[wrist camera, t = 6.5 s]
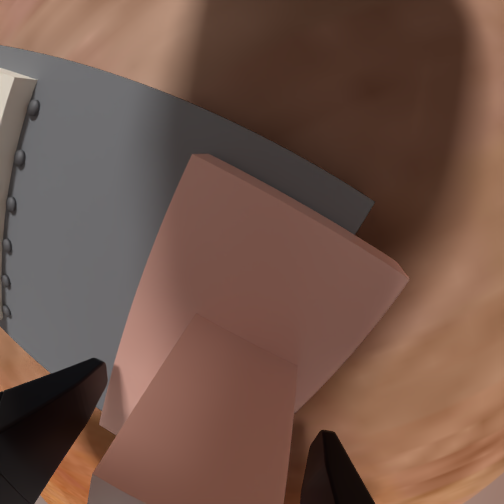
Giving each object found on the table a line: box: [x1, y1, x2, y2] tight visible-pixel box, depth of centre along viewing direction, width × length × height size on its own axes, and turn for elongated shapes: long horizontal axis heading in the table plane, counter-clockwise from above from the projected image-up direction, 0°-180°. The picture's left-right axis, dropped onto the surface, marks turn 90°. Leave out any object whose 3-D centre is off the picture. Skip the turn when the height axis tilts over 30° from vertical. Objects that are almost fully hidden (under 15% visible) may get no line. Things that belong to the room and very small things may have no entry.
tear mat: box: [0, 45, 375, 411], centre depth 10 cm, size 26×14×1 cm, turn 62°
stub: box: [87, 154, 410, 504], centre depth 7 cm, size 6×12×6 cm, turn 152°
